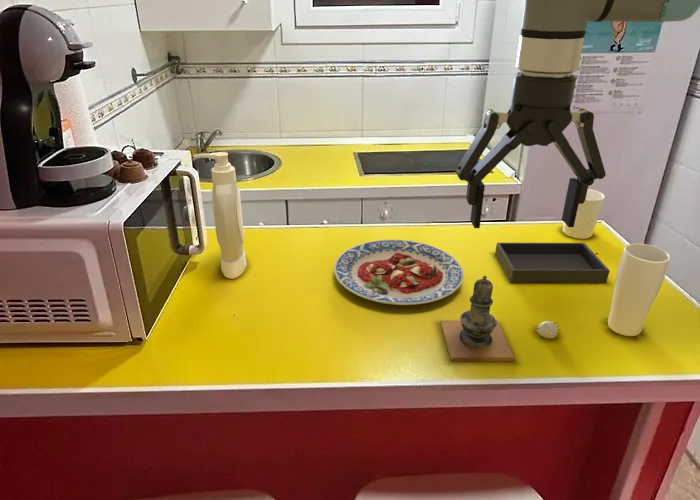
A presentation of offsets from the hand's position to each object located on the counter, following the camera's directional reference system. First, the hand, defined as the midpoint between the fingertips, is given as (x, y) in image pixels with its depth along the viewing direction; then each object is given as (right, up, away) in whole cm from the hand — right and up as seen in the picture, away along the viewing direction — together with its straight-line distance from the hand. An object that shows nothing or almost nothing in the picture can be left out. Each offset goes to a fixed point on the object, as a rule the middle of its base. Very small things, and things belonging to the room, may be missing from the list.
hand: (521, 224), depth 76 cm
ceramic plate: (-15, -9, +29) cm, 34 cm away
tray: (+16, -8, +33) cm, 38 cm away
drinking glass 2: (+22, -18, +14) cm, 32 cm away
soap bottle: (-51, -8, +32) cm, 60 cm away
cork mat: (-4, -19, +10) cm, 22 cm away
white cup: (+29, 0, +48) cm, 56 cm away
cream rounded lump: (+8, -18, +13) cm, 24 cm away
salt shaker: (-4, -19, +10) cm, 22 cm away
